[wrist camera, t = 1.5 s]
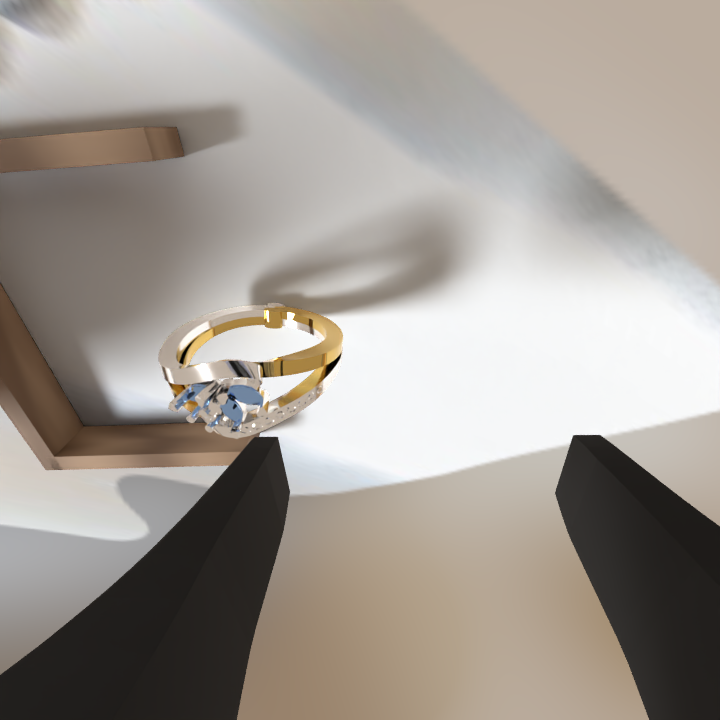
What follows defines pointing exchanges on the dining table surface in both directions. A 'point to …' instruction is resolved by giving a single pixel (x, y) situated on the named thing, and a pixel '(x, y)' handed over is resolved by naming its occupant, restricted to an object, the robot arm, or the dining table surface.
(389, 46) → the dining table surface
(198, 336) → the ring
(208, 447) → the brown u-shaped frame
